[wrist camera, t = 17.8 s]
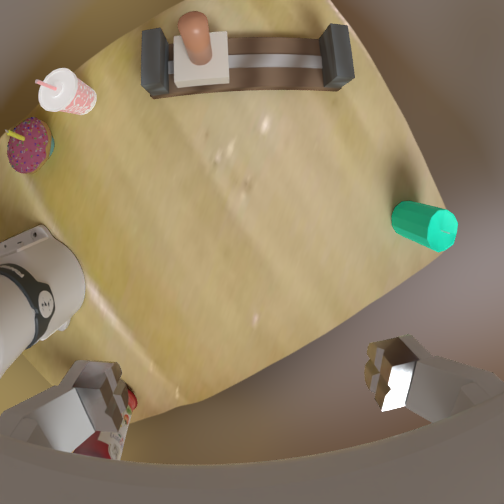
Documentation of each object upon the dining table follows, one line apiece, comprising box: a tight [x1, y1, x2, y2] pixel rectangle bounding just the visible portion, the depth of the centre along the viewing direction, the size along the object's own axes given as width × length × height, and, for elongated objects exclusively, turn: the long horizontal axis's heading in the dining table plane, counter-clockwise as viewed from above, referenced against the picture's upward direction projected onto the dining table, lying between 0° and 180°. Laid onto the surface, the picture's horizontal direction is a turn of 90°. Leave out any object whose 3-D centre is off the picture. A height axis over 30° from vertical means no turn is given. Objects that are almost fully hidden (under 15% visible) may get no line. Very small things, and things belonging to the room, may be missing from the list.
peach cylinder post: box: [174, 11, 229, 88], centre depth 31 cm, size 7×7×13 cm
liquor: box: [73, 390, 137, 460], centre depth 39 cm, size 7×7×28 cm
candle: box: [392, 201, 458, 252], centre depth 41 cm, size 6×6×12 cm
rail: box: [141, 23, 355, 99], centre depth 36 cm, size 27×8×8 cm, turn 93°
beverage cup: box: [35, 68, 97, 115], centre depth 32 cm, size 6×6×14 cm
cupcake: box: [5, 117, 54, 174], centre depth 34 cm, size 9×8×12 cm
